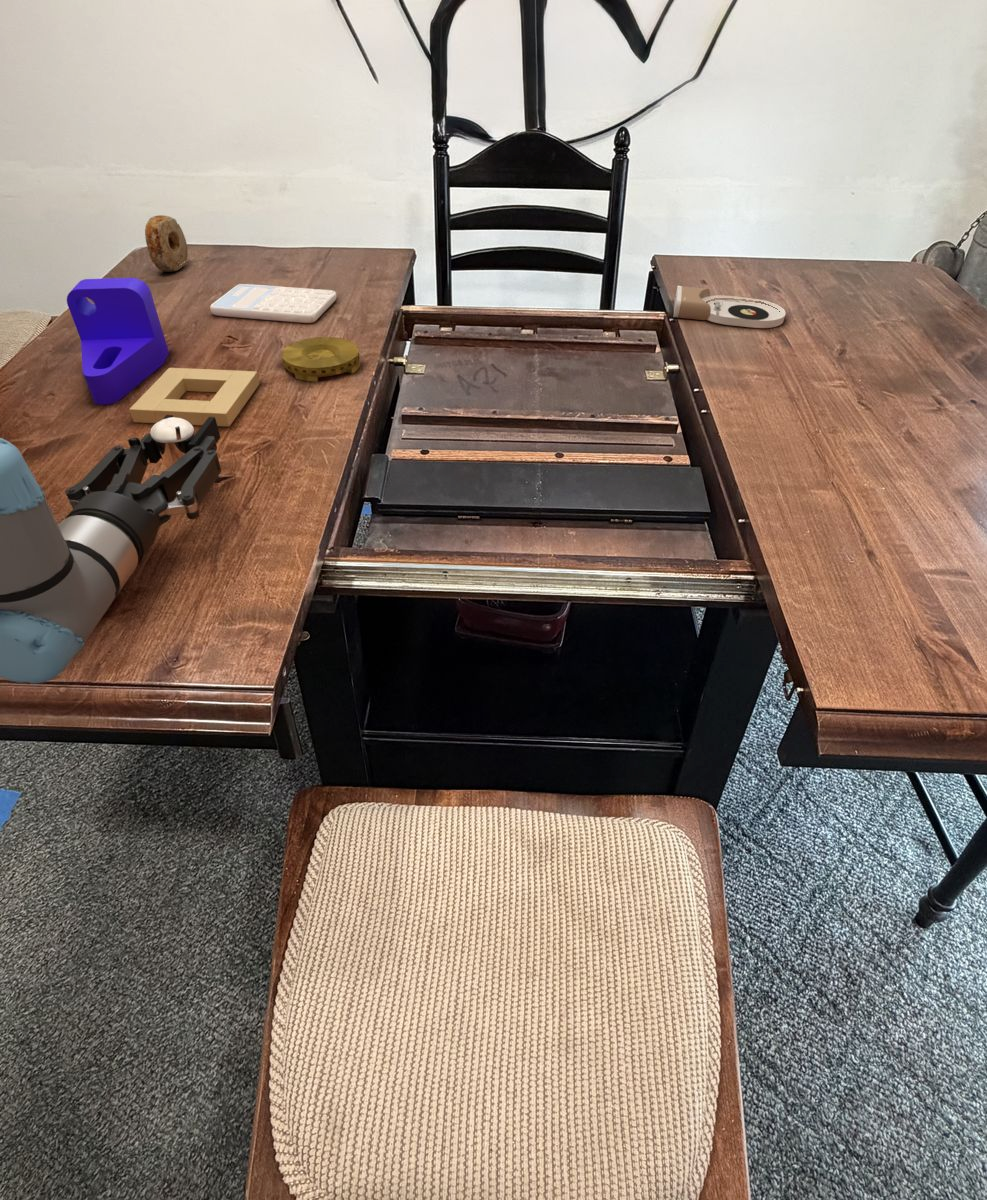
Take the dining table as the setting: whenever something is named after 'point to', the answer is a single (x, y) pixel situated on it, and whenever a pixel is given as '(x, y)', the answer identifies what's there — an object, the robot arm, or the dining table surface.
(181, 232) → the stone disc
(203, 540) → the dining table surface
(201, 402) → the square frame
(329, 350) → the olive flat round disc
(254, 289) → the calculator
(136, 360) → the bracket
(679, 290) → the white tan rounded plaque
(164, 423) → the milkshake
